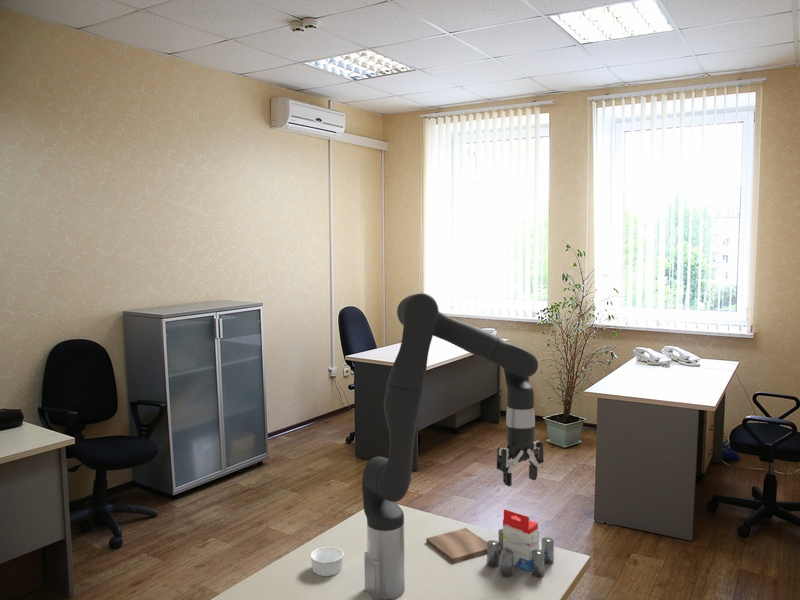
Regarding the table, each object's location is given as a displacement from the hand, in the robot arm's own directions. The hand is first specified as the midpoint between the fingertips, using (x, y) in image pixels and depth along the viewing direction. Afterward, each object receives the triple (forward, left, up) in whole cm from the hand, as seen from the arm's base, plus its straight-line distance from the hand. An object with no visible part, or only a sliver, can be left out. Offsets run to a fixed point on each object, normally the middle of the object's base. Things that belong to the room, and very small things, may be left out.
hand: (520, 482), depth 163 cm
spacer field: (0, 0, -22) cm, 22 cm away
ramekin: (-47, +23, -23) cm, 57 cm away
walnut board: (-9, +16, -22) cm, 29 cm away
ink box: (0, 0, -23) cm, 23 cm away
